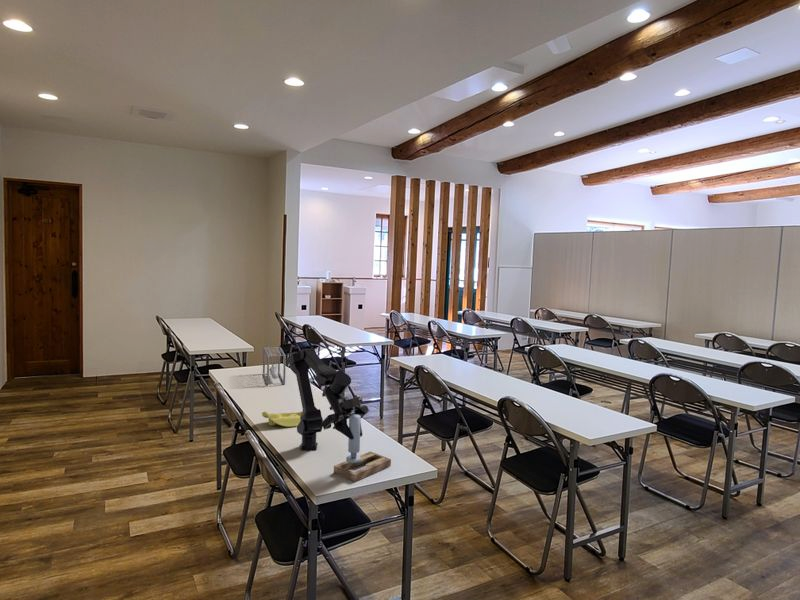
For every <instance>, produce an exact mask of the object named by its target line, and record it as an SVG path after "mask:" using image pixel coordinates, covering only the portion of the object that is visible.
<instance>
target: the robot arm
mask: <svg viewBox="0 0 800 600" xmlns="http://www.w3.org/2000/svg"><path fill="white" fill-rule="evenodd" d="M287 362H288V365H289V367H290V370H291V371H292V373H294V374H295V376H296V381H297V386H298V392H299V396H300V402H301V408H302V410H301V412H302V414H301V416H300V420H301V421H300V423H299V424H298V426H296V432H297V433H298V434H299V435H301V443H300V447H299V450H300V451H303V450H304V451H307V450H309V451H311V450H312V451H314V450H315V451H317V449H318V442H317V433H322V430H328V429H331V428H332V429H333V430H336V431H337V432H339V433H341V434H342V435H344V436H345V437H347V438H348V439H349V438H350V439H351V440H353V439H354V438H353V435H352V433H351V431H350V429H349V424H348V420H349V416H350V415H353V414H357V415H360V416H361V419H362V418H364V417H365V415H367V413H369V412H370V409H369V408H368V406H367V405H364V404H363V405H362V403H363V398H362V396H361V394H360V393H359V394H356V395H355V394H354V395H353V397H352V398H348V397H347V396H346V397H345V395H344V393H345V392H346V390H347V389H348V387H349V386H350V385H351V383H352V378H351V376H350V375H349V374H348V373H346V372H344V371H343V369H338V370H336V369H335V368H334V367H332V366H329V365H326V363H324V362H323V360H322V359H321V358H320V357H319V355H317V353H316V352H315V349H314V348H303V349H301V350H299V351H296V352H293V353H290V355H289V356H288V358H287ZM310 369H311V370H312V371H313V372H314V373H315V381H316V382H317V384H318V385H319V386H320V387H325V386H326V388H324V389H322V394H321V397H323V398H324V397H325V398H326V399H327V402H328V403H329V405H330V406H329V410H330V411H333V413H332V414H329V415H327V416H326V417H325V418H324V419H323V417H322V411H321V409H320V408H319V409H318V408H317V407H316V405H315V401H314V395H313V391H312V387H311V386H312V385H311V380H310V375H309V370H310ZM361 422H362V421H361ZM361 422H360V438H361V437H362V436H363V429H362V423H361ZM332 425H333V427H332Z"/></svg>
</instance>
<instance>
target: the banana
mask: <svg viewBox="0 0 800 600" xmlns="http://www.w3.org/2000/svg"><path fill="white" fill-rule="evenodd" d="M301 414H302V411H299V412H283V413H281V412H280V413H268V412H267V411H263V412H262V413H261V416H262V417H263V418H264V419H265V418H266V419H268V426H276V425H278V426H282V427H287V428H289V427H297V426H298V424H299V423H300V421H301V420H300V416H301Z"/></svg>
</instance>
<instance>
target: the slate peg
mask: <svg viewBox="0 0 800 600" xmlns="http://www.w3.org/2000/svg"><path fill="white" fill-rule="evenodd" d="M348 420H349V421H348V427H349V429H350V431H351V433H352V435H353V438H354V439H353V440H351V439H350V438H348V442H347V443H348V444H347V445H348V449H347V451H348V453H350V455H348V456H345V458H346V459H345V461H347V462H349V463H358V462H360V461H361V457H360V455H358V453H360V451H361V449H360V448H361V446H360V445H361V437H360V422H362V421H361V420H362V418H361V416H360V415H357V414H353V415H350V416H349V419H348Z"/></svg>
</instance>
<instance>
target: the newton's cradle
mask: <svg viewBox="0 0 800 600" xmlns="http://www.w3.org/2000/svg"><path fill="white" fill-rule="evenodd" d="M272 352H275V353H276V354H272ZM262 353H263V354H262V375H263V378H264V381H265V384H266V386H269V385H270V376H271V378H272V379H273V380H276V379H278V378H281V379H280V380H282V381H281V382H279V383H274V385H285V383H286V367H287V366H286V365H287V364H286V363H287V362H286V359H287V357H286V356H287V355H286V354H285V352H284V350H283V348H282V347H281V346H278V347H277V346H276V347H273V349H272V348H269V347H263V349H262ZM273 357H274V358H275V359H274V360H273ZM281 357H283V373H282V374H283V375H282V374H281ZM274 362H275V363H274ZM266 364H267V365H266ZM265 365H266V366H265ZM270 365H271V367H270ZM275 366H277V367H275ZM265 370H266V371H265Z"/></svg>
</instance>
